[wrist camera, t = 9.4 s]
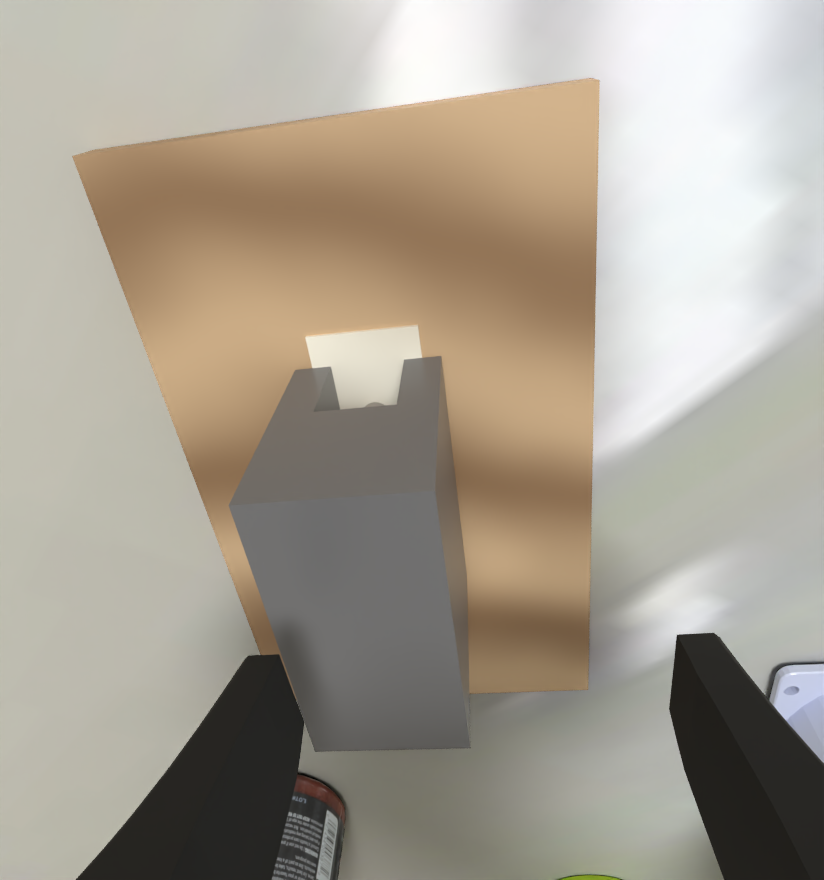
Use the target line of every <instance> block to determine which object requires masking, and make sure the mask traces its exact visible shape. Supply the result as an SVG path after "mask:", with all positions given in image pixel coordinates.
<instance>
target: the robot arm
mask: <svg viewBox="0 0 824 880" xmlns="http://www.w3.org/2000/svg"><path fill="white" fill-rule="evenodd" d="M669 710H670V714H671V718H672V722H673V726H674V730H675V735H676V739H677V743H678V747H679V751H680V754H681V758H682V762H683V766H684V770H685V773H686V775H687V778H688V781H689V784H690V787H691V790H692V792H693V795H694V798H695V801H696V803H697V806H698V809H699V812H700V814H701V817H702V820H703V823H704V825H705V828H706V831H707V834H708V836H709V839H710V842H711V845H712V847H713V850H714V853H715V856H716V858H717V861H718V864H719V866H720V869H721V872H722V875H723V877H724V880H824V664H809V665H789V666H785V667H782V668H781V669H780V670H778V672H777V673H776V676H775V680H774V684H773V688H772V692H771V696H770V700H768V699H767V697H766V696H765V695H764V694H763V693H762V691H761V690H760V689H759V688H758V686H757V685H756V684H755V683H754V681H753V680H752V679H751V678H750V676H749V675H748V674H747V673H746V671H745V670H744V669H743V668H742V666H741V665H740V664H739V662H738V661H737V660H736V659H735V657H734V656H733V655H732V653H731V652H730V651H729V649H728V648H727V647H726V645H725V644H724V643H723V641H722V640H721V639H720V637H718V636H717V635H716V634H714V633H703V634H683V635H677V640H676V649H675V659H674V669H673V678H672V688H671V698H670V707H669ZM303 727H304V720H303V717H302V715H301V712H300V709H299V706H298V704H297V701H296V698H295V696H294V693H293V690H292V688H291V685H290V682H289V679H288V677H287V674H286V671H285V669H284V666H283V663H282V661H281V658H280V655H279V654H274V655H253V656H248V657H247V658H246V659H245V660H244V661H243V663H242V664H241V666H240V667H239V669H238V670H237V672H236V673H235V675H234V676H233V678H232V679H231V681H230V682H229V683H228V685H227V686H226V688H225V689H224V691H223V692H222V694H221V695H220V697H219V698H218V700H217V701H216V703H215V704H214V706H213V707H212V708H211V710H210V711H209V713H208V714H207V716H206V717H205V718H204V720H203V721H202V723H201V724H200V726H199V727H198V728H197V730H196V731H195V733H194V734H193V735H192V737H191V738H190V739H189V741H188V742H187V744H186V745H185V746H184V748H183V749H182V751H181V752H180V753H179V755H178V756H177V757H176V759H175V760H174V762H173V763H172V764H171V766H170V767H169V768H168V770H167V771H166V772H165V774H164V775H163V776H162V777H161V779H160V780H159V781H158V783H157V784H156V785H155V786H154V788H153V789H152V790H151V791H150V793H149V794H148V795H147V796H146V798H145V799H144V800H143V802H142V803H141V804H140V805H139V807H138V808H137V809H136V810H135V812H134V813H133V814H132V816H131V817H130V818H129V819H128V820H127V822H126V823H125V824H124V825H123V826H122V828H121V829H120V830H119V831H118V832H117V834H116V835H115V836H114V837H113V838H112V839H111V841H110V842H109V843H108V844H107V845H106V846H105V848H104V849H103V850H102V851H101V852H100V853H99V854H98V855H97V857H96V858H95V859H94V860H93V861H92V862H91V863H90V864H89V866H88V867H87V868H86V869H85V870H84V871H83V872H82V873H81V874H80V876H79V877H78V878H77V879H76V880H272V877H273V873H274V869H275V865H276V861H277V857H278V853H279V849H280V845H281V841H282V837H283V833H284V829H285V825H286V821H287V817H288V813H289V809H290V804H291V800H292V796H293V792H294V788H295V784H296V779H297V773H298V766H299V759H300V752H301V744H302V736H303Z"/></svg>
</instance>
